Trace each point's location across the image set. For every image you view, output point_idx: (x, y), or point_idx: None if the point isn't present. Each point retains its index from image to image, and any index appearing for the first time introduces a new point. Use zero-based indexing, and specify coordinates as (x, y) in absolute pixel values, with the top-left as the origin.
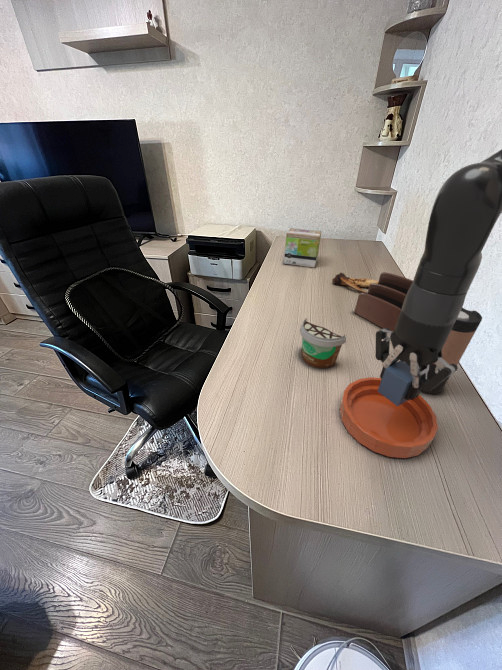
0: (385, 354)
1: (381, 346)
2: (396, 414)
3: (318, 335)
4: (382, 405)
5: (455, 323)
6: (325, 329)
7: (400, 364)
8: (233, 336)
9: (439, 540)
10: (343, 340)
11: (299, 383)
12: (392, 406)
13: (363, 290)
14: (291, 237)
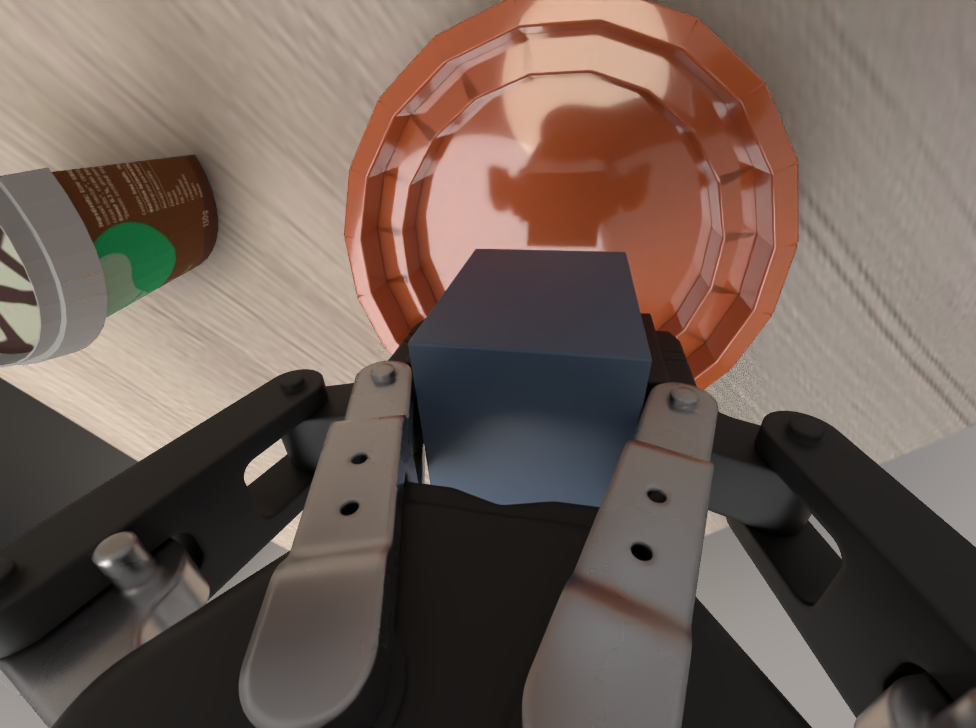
0: (314, 443)
1: (247, 557)
2: (573, 170)
3: (7, 313)
4: (501, 184)
5: None
6: None
7: (450, 399)
8: (24, 389)
9: (885, 447)
10: (39, 206)
11: (283, 363)
12: (530, 141)
13: None
14: None
